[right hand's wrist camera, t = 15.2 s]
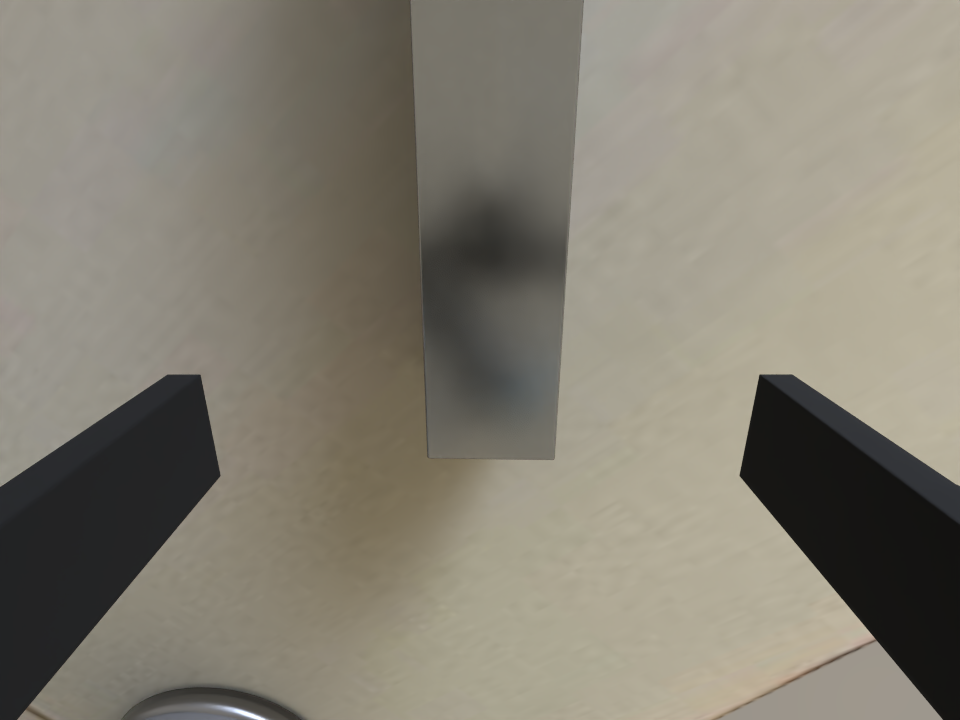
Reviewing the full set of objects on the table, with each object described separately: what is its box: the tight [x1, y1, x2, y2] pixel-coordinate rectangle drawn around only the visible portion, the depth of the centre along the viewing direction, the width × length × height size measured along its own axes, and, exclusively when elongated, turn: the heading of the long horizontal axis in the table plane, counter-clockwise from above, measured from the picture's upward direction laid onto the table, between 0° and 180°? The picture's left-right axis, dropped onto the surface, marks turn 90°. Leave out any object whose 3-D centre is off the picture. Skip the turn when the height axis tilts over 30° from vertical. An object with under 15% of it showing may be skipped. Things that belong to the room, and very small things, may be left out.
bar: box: [410, 0, 584, 460], centre depth 17 cm, size 28×4×8 cm, turn 0°
